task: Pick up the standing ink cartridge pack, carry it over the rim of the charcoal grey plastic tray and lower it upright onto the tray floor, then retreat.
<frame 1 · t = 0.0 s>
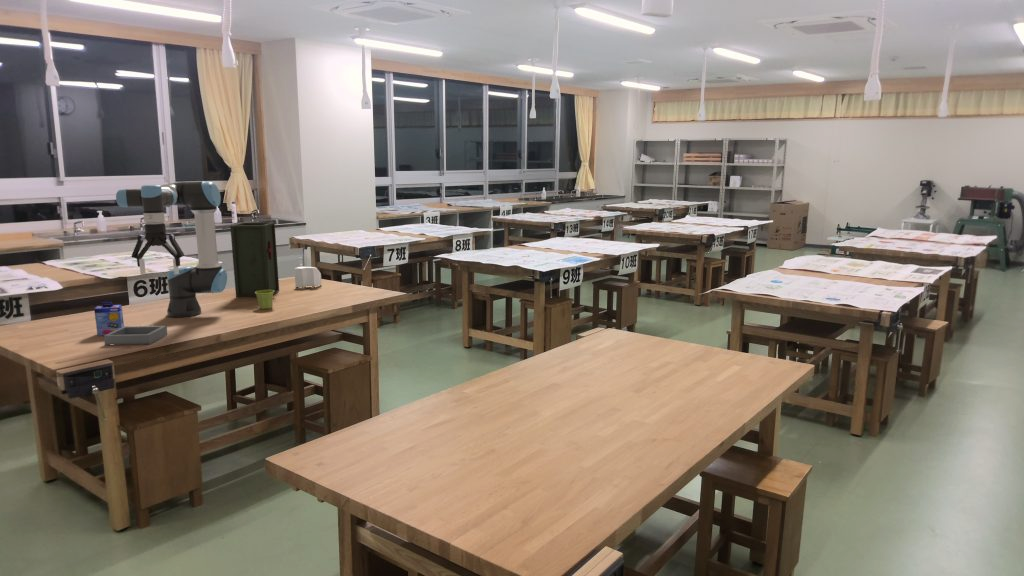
hand: (160, 274, 278), 28 cm above the table, tool pointing down, fingers open, 13 cm apart
plant pot: (266, 308, 344), on the table
first aid box: (258, 294, 381), on the table
tray: (137, 339, 283), on the table
white rounded block: (308, 287, 404), on the table
ink cartridge box: (111, 333, 294), on the table
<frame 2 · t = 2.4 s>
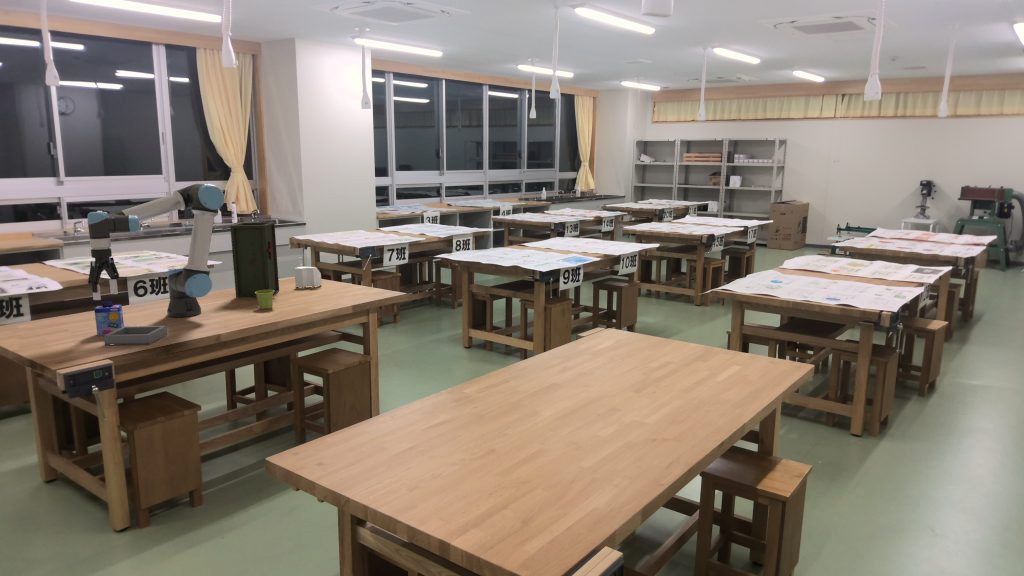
hand: (105, 296, 291), 16 cm above the table, tool pointing down, fingers open, 13 cm apart
nothing on the table moved.
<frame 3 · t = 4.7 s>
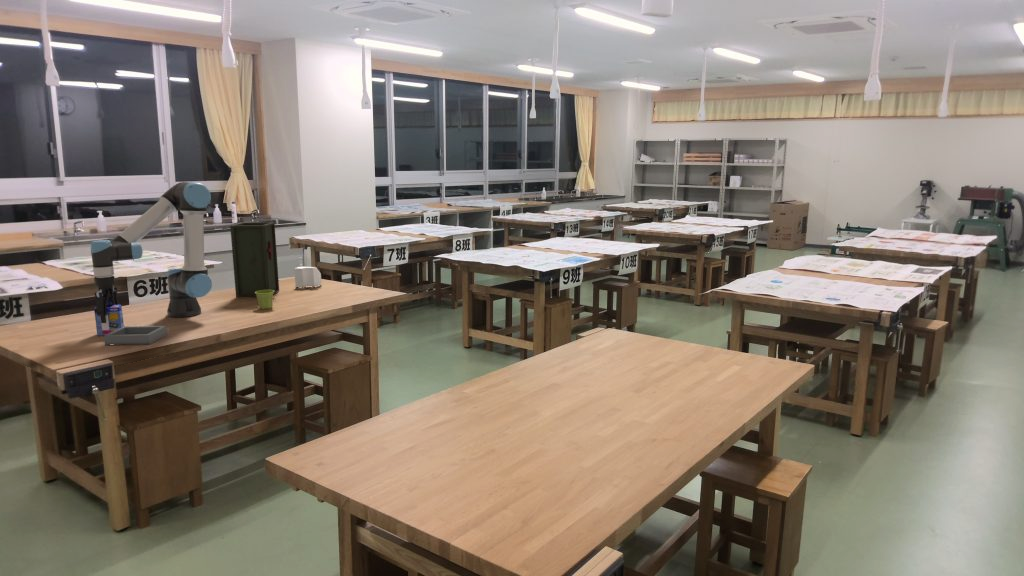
hand: (110, 327, 293), 3 cm above the table, tool pointing down, fingers closed on ink cartridge box, 7 cm apart
ink cartridge box: (111, 333, 294), on the table, touching gripper
everything else where it was.
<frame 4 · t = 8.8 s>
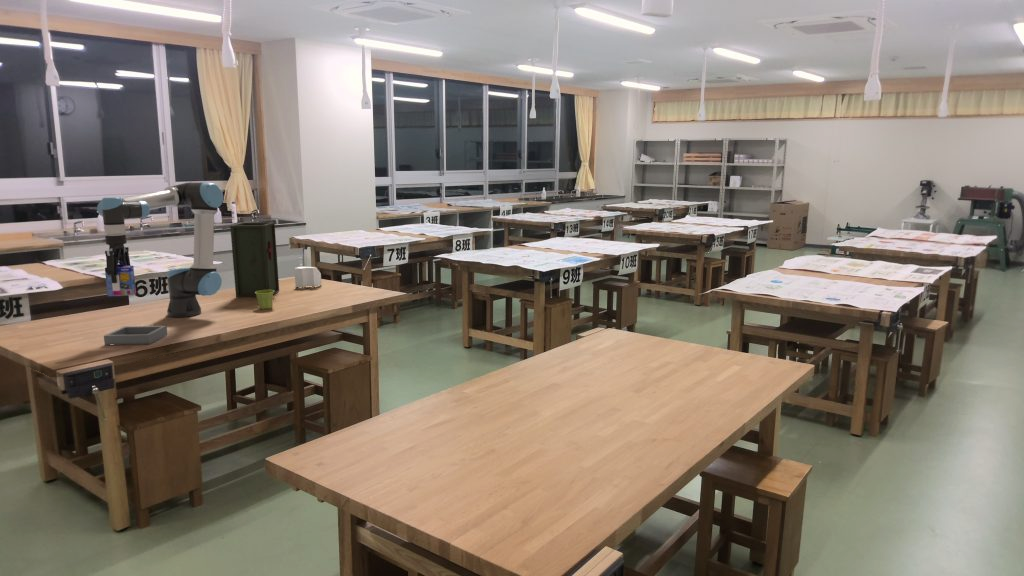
hand: (121, 289, 283), 21 cm above the table, tool pointing down, fingers closed on ink cartridge box, 6 cm apart
ink cartridge box: (121, 295, 283), point 18 cm above the table, touching gripper
everything else where it was.
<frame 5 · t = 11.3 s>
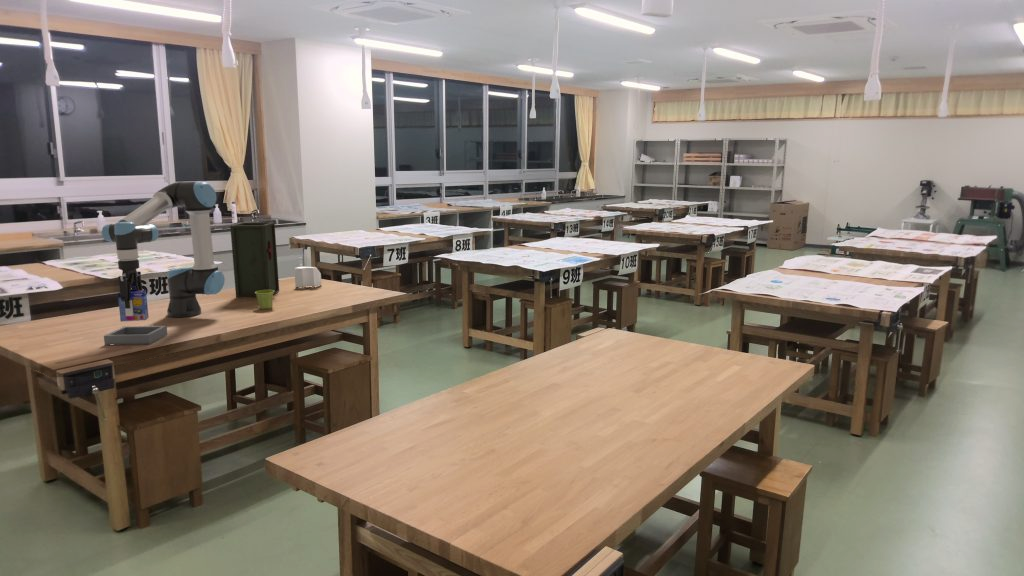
hand: (134, 313, 281), 11 cm above the table, tool pointing down, fingers closed on ink cartridge box, 6 cm apart
ink cartridge box: (134, 320, 281), point 9 cm above the table, touching gripper
everything else where it was.
when the fingers open (5 cm above the table, at t = 13.3 s): ink cartridge box drops 1 cm, resting on tray.
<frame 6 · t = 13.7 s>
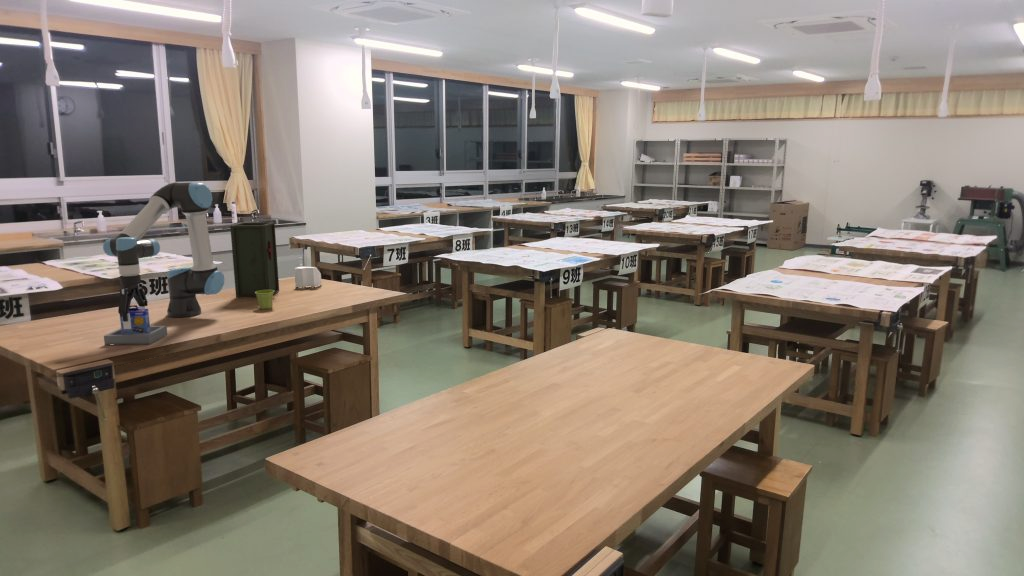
hand: (135, 325, 282), 6 cm above the table, tool pointing down, fingers open, 12 cm apart
ink cartridge box: (136, 338, 283), point 1 cm above the table, touching tray
everything else where it was.
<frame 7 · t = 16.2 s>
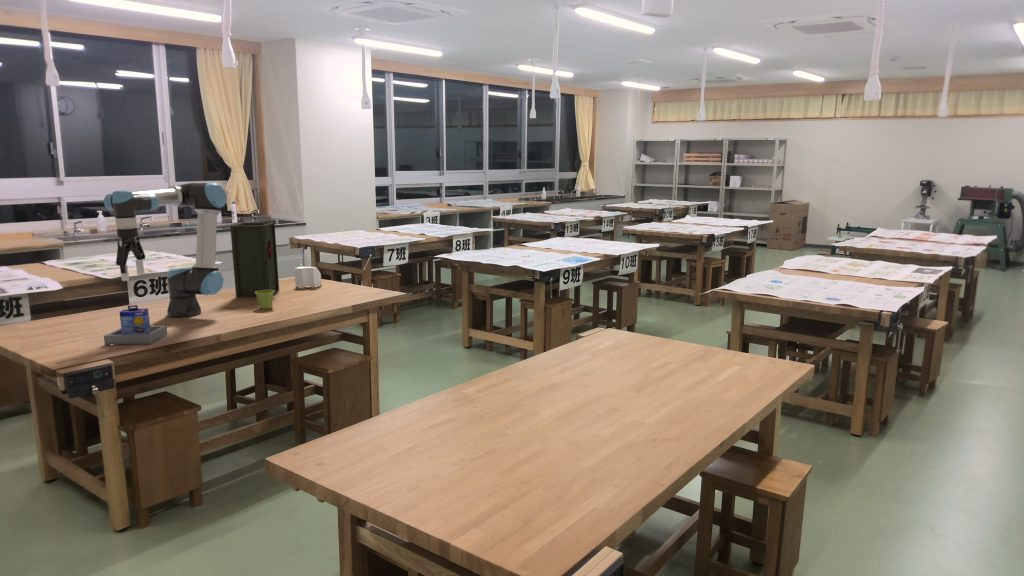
hand: (133, 277, 284), 26 cm above the table, tool pointing down, fingers open, 13 cm apart
nothing on the table moved.
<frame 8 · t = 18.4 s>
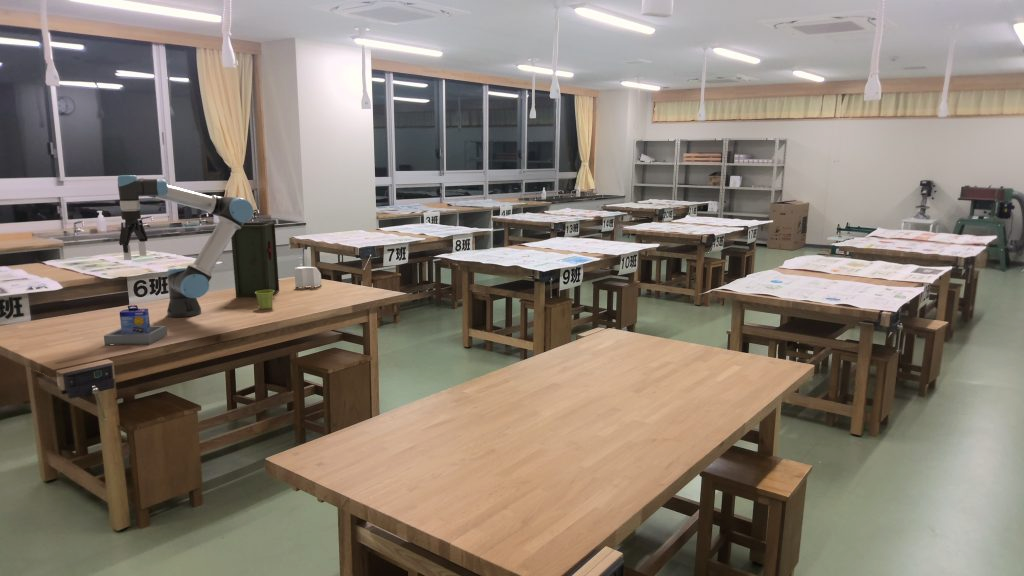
hand: (135, 257, 300), 32 cm above the table, tool pointing down, fingers open, 13 cm apart
nothing on the table moved.
at the end: ink cartridge box inside the target area on the tray (0.3 cm from its centre), point 0.6 cm above the tray's base; ink cartridge box tilted 0°; the gripper is holding nothing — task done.
